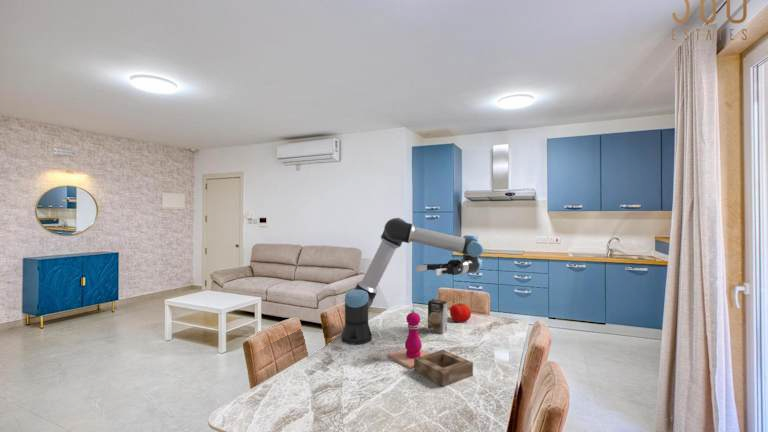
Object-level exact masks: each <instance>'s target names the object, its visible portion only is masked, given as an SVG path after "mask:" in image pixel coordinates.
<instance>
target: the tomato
mask: <svg viewBox="0 0 768 432" xmlns="http://www.w3.org/2000/svg"><path fill="white" fill-rule="evenodd" d="M449 315H450V317H451V319H452V320H453V321H455V322H458V323H459V322H460V323H462V322H467V321H468V320H470V318H471V316H472V311H471V308H470V307H469V306H468V305H466V304H465V303H461V302H460V303H459V302H456V304H452V305H451V307H450V309H449Z"/></svg>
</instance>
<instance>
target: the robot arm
mask: <svg viewBox="0 0 768 432" xmlns="http://www.w3.org/2000/svg"><path fill="white" fill-rule="evenodd" d="M383 228H384V229H383V232H382V234H381V236H380V240H381V242H380V244H379V245H378V248H377V250H376V252H375V254H374V256H373V258H372V260H371V262H370V264H369V266H368V268H367V270H366V272H365V274H364V276H363V277H362V280H360V281H358V282H357V283H356V286H355V288H354V289H352V290H349V291H347V292H346V293H345V296H344V326H343V327H342V328H343V329H342V331H341V335H340V336H341V337H340V338H341V340H340V341H341V342H343V343H345V344H348V345H363V344H366V343H367V344H368V343H369V342H371V341H372V339H373V338H372V337H373V334H372V330H371V328H370V325H369V310H370V307H371V306H372V304H373V302H374V300H375V297H376V296H377V293H378V290H377V287H378V285H379V283H380V281H381V279H382V277H383V275H384V273H385V271H386V270H387V267H388V265H389V264H390V261H391V260H392V257H393V256H394V254H395V252H396V250H397V249H398V248H400V247H401V246H402V244H403V243H406V244H410V243H415V244H419V245H423V246H424V245H425V246H429V247H433V248H438V249H441V250H446V251H449V252H450V251H451V252H455V253H459V254H462V258H459V259H458V258H455V259H451V260H450V259H449V260H448V262H447V263H427V264H426V263H424V264H421V265H416V266H415V272H427V271H435V276H443V275H451V276H456V275H461V276H462V275H463V274H471V273H472V274H473V273H478V272H480V271H481V270H482V268H483V262H482V260H481V259H480V258H479V257H480V256H481V255H482V253H483V252H484V247H483V244H482V243H481V242H480V241H479V238H478V236H477V235H474V234H473V235H472V234H465V235H463V237H460V236H456V235H451V234H447V233H443V232H440V231H435V230H430V229H426V228H421V227H418V226H415V225H414V224H413V223H409V222H407V221H405V220H403V218H400V217H394V218H391V219H389V220H388V221H387V222H386V223H385V225H384V227H383Z"/></svg>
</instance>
